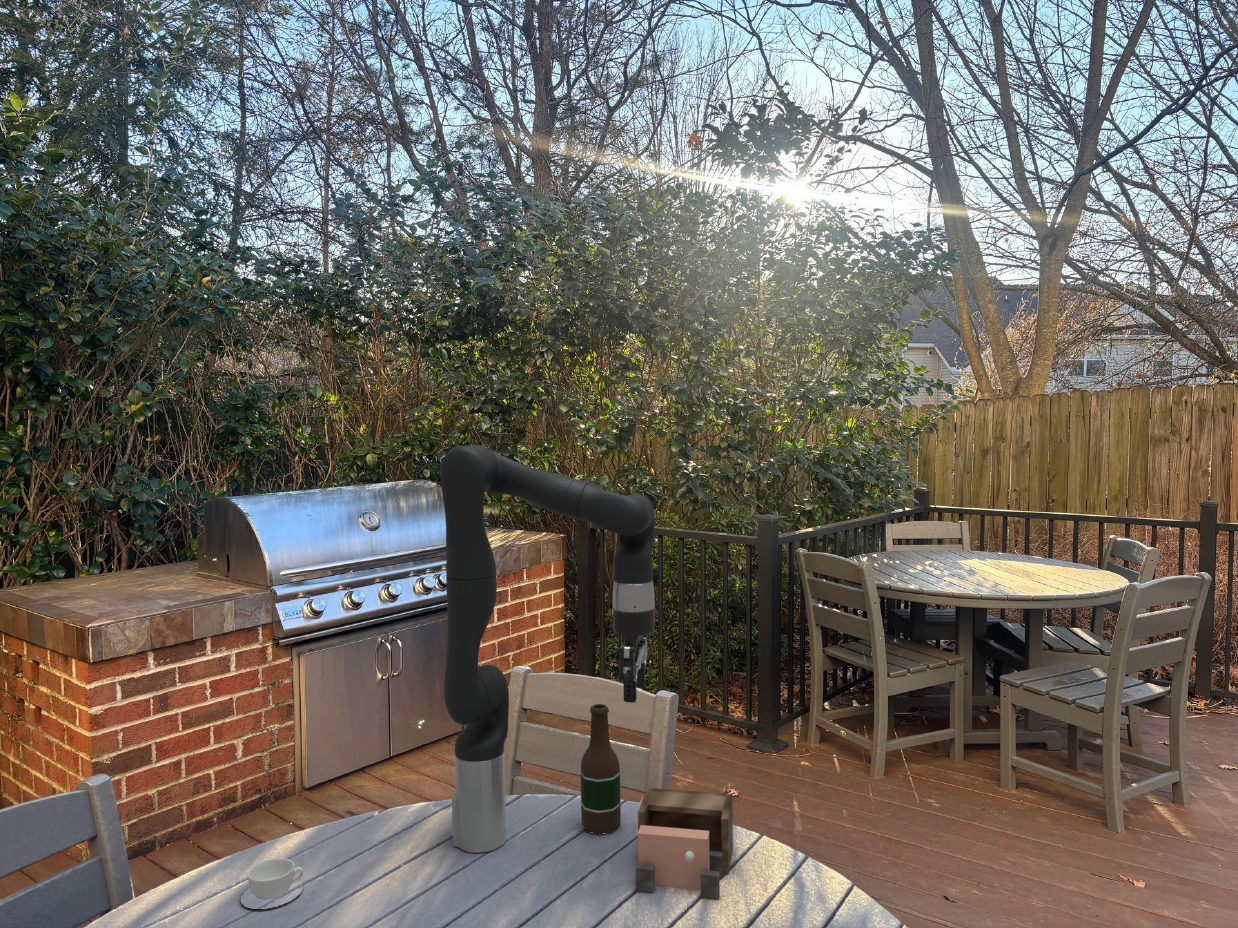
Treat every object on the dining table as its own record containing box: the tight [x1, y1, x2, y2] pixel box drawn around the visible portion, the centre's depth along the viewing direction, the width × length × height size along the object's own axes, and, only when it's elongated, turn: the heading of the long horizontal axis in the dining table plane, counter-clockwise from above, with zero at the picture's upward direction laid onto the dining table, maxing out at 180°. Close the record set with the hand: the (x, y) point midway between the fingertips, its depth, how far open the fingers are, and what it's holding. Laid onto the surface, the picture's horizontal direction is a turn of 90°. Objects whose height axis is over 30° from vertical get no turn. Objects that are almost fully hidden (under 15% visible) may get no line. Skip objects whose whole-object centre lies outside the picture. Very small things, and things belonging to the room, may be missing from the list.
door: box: [637, 825, 710, 891], centre depth 145 cm, size 12×4×9 cm, turn 78°
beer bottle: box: [580, 703, 622, 835], centre depth 166 cm, size 8×8×24 cm
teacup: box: [247, 857, 304, 900], centre depth 144 cm, size 10×10×5 cm
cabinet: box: [635, 787, 734, 901], centre depth 151 cm, size 16×18×10 cm
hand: (634, 694), depth 154 cm, fingers open, 8 cm apart
